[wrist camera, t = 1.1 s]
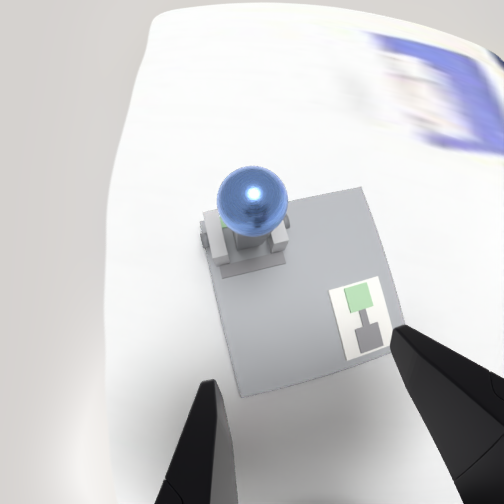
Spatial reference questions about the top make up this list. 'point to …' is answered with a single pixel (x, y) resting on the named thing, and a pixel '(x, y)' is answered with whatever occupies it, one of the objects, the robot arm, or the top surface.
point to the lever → (252, 204)
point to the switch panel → (304, 293)
